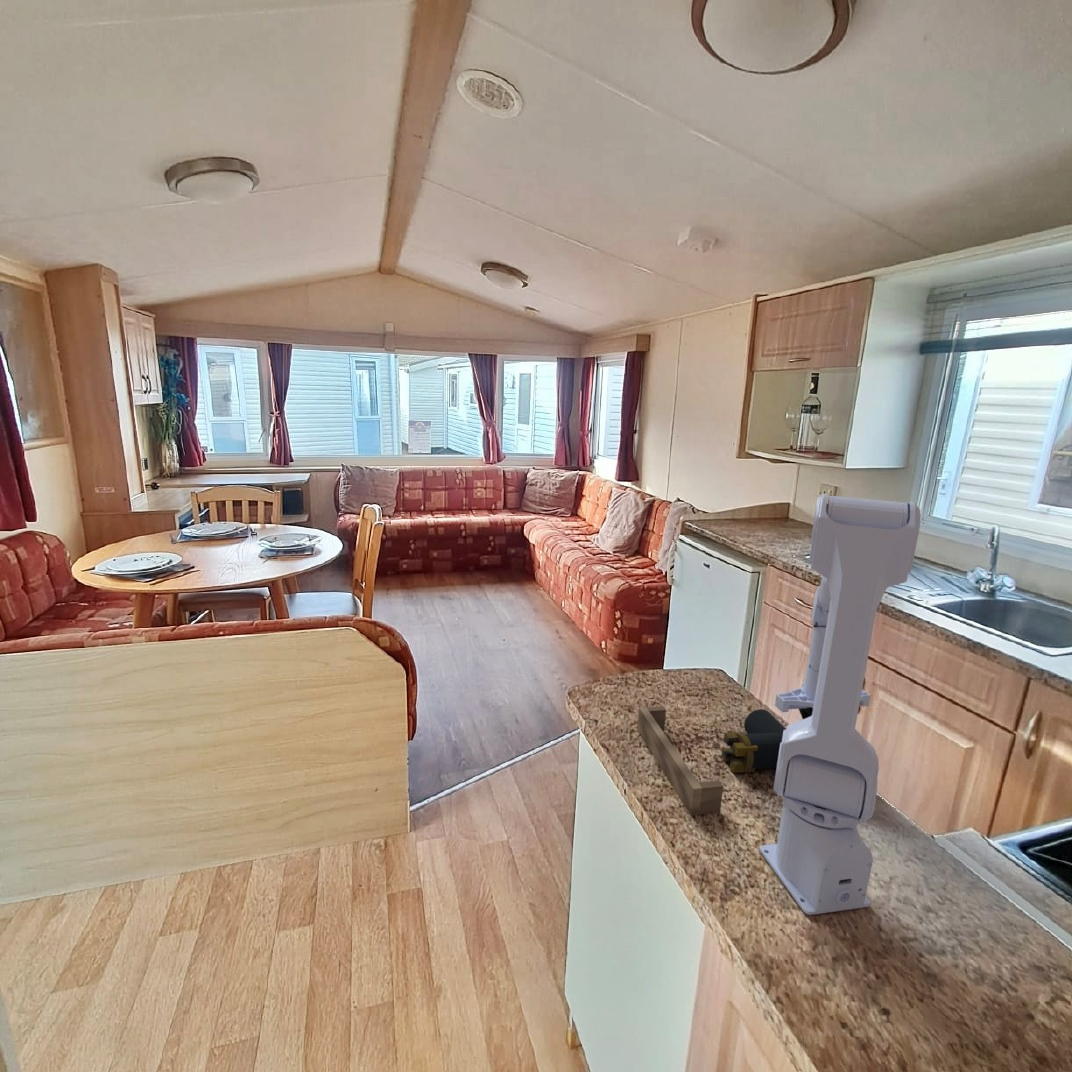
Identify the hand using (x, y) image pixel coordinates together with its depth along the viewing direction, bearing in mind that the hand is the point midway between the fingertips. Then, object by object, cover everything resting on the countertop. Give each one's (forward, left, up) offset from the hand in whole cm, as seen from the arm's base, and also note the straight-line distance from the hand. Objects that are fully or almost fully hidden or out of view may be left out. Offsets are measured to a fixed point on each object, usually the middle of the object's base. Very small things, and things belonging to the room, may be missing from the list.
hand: (814, 748), depth 88 cm
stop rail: (+1, +22, -2) cm, 23 cm away
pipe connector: (0, +9, -2) cm, 9 cm away
